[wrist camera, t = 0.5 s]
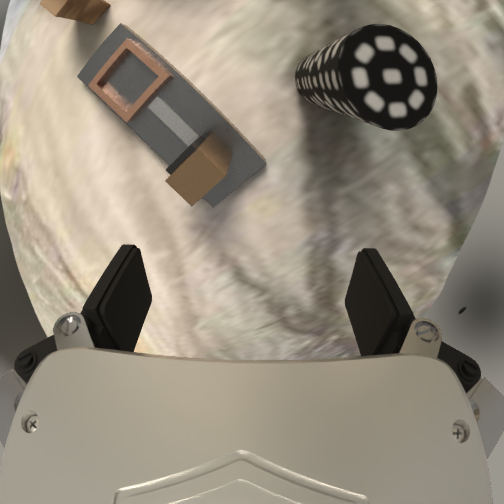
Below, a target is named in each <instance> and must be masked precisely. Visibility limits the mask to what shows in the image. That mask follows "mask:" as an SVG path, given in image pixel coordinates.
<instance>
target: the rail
mask: <svg viewBox="0 0 504 504" xmlns="http://www.w3.org/2000/svg"><path fill="white" fill-rule="evenodd" d="M77 77H78V78H79V79H80V80H81V81H82V82H83V83H84V84H86V85H87V86H88V87H89V88H90V89H91V90H92V91H93V92H94V93H95V94H96V95H97V96H98V97H99V98H100V99H101V100H102V101H103V102H104V103H105V104H106V105H108V106H109V107H110V108H111V109H112V110H113V111H114V112H115V113H116V114H117V115H118V116H119V117H120V118H121V119H122V120H123V121H124V122H125V123H126V124H127V125H128V126H129V127H130V128H132V129H133V130H134V131H135V132H136V133H137V134H138V135H139V136H140V137H141V138H142V139H143V140H144V141H145V142H146V143H147V144H148V145H149V146H150V147H151V148H152V149H153V150H154V151H155V152H156V153H157V154H159V155H160V156H161V157H162V158H163V159H164V160H165V161H166V162H167V163H168V164H169V165H170V166H169V167H168V168H167V169H166V171H167V172H168V173H169V174H170V176H169V177H168V178H167V179H166V182H167V183H168V184H169V185H170V186H171V187H172V188H173V189H174V190H175V191H176V192H177V193H178V194H179V195H180V196H181V197H182V198H183V199H185V200H186V201H187V202H188V203H189V204H190V205H191V206H193V205H194V204H195V203H196V202H197V201H198V200H200V199H201V198H202V197H203V198H204V199H205V200H206V201H207V202H208V203H209V204H210V205H211V206H212V207H215V206H216V205H217V204H218V203H219V202H220V201H222V200H223V199H224V198H225V197H226V196H228V195H229V194H230V193H231V192H232V191H234V190H235V189H236V188H237V187H238V186H240V185H241V184H242V183H243V182H244V181H246V180H247V179H248V178H249V177H250V176H252V175H253V174H254V173H255V172H257V171H258V170H259V169H260V168H262V167H263V166H264V165H265V164H267V163H266V159H265V158H264V157H263V156H262V155H261V154H260V153H259V152H258V151H257V150H256V148H255V147H254V146H253V145H252V144H251V143H250V142H249V141H248V140H247V139H246V138H245V137H244V135H243V134H242V133H241V132H240V131H239V130H238V129H237V128H236V127H235V126H234V125H233V124H232V123H231V122H230V121H229V120H228V119H227V118H226V117H225V116H224V115H223V114H222V113H221V112H220V111H219V110H218V109H217V107H216V106H215V105H214V104H213V103H212V102H211V101H209V100H208V99H207V98H206V97H205V96H204V95H203V94H202V93H201V92H200V91H199V90H198V89H197V88H196V87H195V86H194V85H193V84H192V83H191V82H190V81H189V80H188V79H187V78H186V77H185V76H184V75H182V74H181V73H180V72H179V71H178V70H177V69H176V68H175V67H174V66H173V65H172V64H170V63H169V62H168V61H167V60H166V59H165V58H164V57H163V56H162V55H160V54H159V53H158V52H157V51H156V50H155V49H154V48H152V47H151V46H150V45H149V44H148V43H147V42H145V41H144V40H143V39H142V38H141V37H140V36H138V35H137V34H136V33H135V32H133V31H132V30H131V29H130V28H129V27H127V26H126V25H123V24H121V23H120V24H119V26H118V27H117V28H116V29H115V30H114V31H113V32H112V33H111V34H110V35H109V37H108V38H107V39H106V40H105V41H104V42H103V44H102V45H101V46H100V47H99V48H98V50H97V51H96V52H95V53H94V55H93V56H92V57H91V58H90V60H89V61H88V62H87V64H86V65H85V66H84V68H83V69H82V70H81V72H80V73H79V75H78V76H77Z"/></svg>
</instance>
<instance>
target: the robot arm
mask: <svg viewBox="0 0 504 504" xmlns="http://www.w3.org/2000/svg"><path fill="white" fill-rule="evenodd" d="M151 302H152V294H151V291H150V287H149V283H148V279H147V276H146V272H145V268H144V264H143V259H142V255H141V251H140V249H139V248H137V247H136V245H122V246H121V247H120V249H119V250H118V252H117V253H116V255H115V256H114V258H113V259H112V261H111V262H110V264H109V265H108V267H107V268H106V270H105V271H104V273H103V275H102V276H101V278H100V279H99V281H98V282H97V284H96V286H95V287H94V289H93V291H92V292H91V294H90V296H89V297H88V299H87V301H86V302H85V304H84V306H83V310H82V311H81V313H77V312H70V313H66V314H64V315H63V316H61V317H60V318H59V319H58V320H57V321H56V323H55V325H54V328H53V332H54V335H52V336H50V337H48V338H47V339H44V340H43V341H41V342H39V343H37V344H35V345H33V346H31V347H29V348H28V349H26V350H24V351H23V352H21V353H20V354H19V356H18V357H17V359H16V361H15V369H14V370H13V371H12V369H10V370H9V371H8V372H7V373H6V374H4V375H3V376H2V377H1V378H0V441H1V443H2V444H3V446H4V448H5V449H4V453H3V457H2V462H1V468H0V504H493V498H492V490H491V482H490V476H489V469H488V464H487V458H488V457H489V455H490V454H491V452H492V450H493V449H494V447H495V445H496V444H497V442H498V440H499V438H500V437H501V435H502V433H503V431H504V396H503V395H502V394H501V393H500V392H499V391H498V390H497V389H496V388H495V387H494V386H493V385H492V384H491V383H490V382H489V381H488V380H487V379H486V378H485V377H484V378H483V379H482V378H481V371H480V368H479V366H478V364H477V363H476V361H475V360H473V359H472V358H470V357H469V356H466V355H465V354H463V353H461V352H460V351H458V350H456V349H454V348H453V347H451V346H449V345H447V344H446V343H444V342H442V332H441V330H440V328H439V326H438V325H437V324H435V323H434V322H433V321H431V320H429V319H426V318H418V319H415V317H414V315H413V312H412V310H411V308H410V306H409V304H408V302H407V301H406V299H405V297H404V295H403V293H402V292H401V290H400V288H399V286H398V284H397V283H396V281H395V279H394V278H393V276H392V274H391V272H390V271H389V269H388V267H387V266H386V264H385V262H384V261H383V259H382V257H381V256H380V254H379V253H378V251H377V250H376V249H373V248H363V249H362V251H361V252H358V254H357V258H356V262H355V266H354V269H353V273H352V277H351V280H350V284H349V287H348V291H347V294H346V297H345V306H346V309H347V312H348V315H349V319H350V322H351V325H352V328H353V331H354V334H355V337H356V341H357V344H358V347H359V350H360V354H361V356H358V357H344V358H330V359H310V360H222V359H202V358H187V357H175V356H164V355H154V354H145V353H136V352H134V349H135V346H136V343H137V340H138V338H139V335H140V332H141V329H142V326H143V324H144V321H145V318H146V316H147V313H148V310H149V308H150V305H151Z"/></svg>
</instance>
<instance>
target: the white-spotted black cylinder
mask: <svg viewBox="0 0 504 504" xmlns="http://www.w3.org/2000/svg"><path fill="white" fill-rule="evenodd" d="M295 81H296V86H297V88H298V91H299V92H300V94H301V95H302V96H303V98H304V99H305V100H307V101H308V102H309V103H311V104H313V105H315V106H318V107H321V108H324V109H327V110H331V111H334V112H337V113H340V114H343V115H346V116H349V117H352V118H355V119H358V120H361V121H364V122H366V123H369V124H372V125H374V126H377V127H379V128H382V129H387V130H394V131H401V130H406V129H410V128H412V127H414V126H416V125H418V124H419V123H421V122H422V121H423V120H424V119H425V118H426V117H427V116H428V115H429V113H430V112H431V110H432V108H433V106H434V103H435V100H436V95H437V77H436V73H435V69H434V66H433V64H432V61H431V59H430V57H429V56H428V54H427V52H426V51H425V49H424V48H423V47H422V46H421V45H420V43H419V42H418V41H417V40H416V39H414V38H413V37H412V36H411V35H409V34H408V33H406V32H404V31H403V30H401V29H399V28H396V27H393V26H390V25H383V24H373V25H368V26H364V27H361V28H359V29H357V30H355V31H353V32H351V33H349V34H347V35H345V36H343V37H341V38H339V39H337V40H335V41H334V42H332V43H330V44H328V45H326V46H324V47H323V48H321V49H319V50H317V51H316V52H314V53H312V54H310V55H309V56H307V57H306V58H304V59H303V60H302V61H301V62H300V64H299V66H298V67H297V70H296V75H295Z"/></svg>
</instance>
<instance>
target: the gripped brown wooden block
mask: <svg viewBox="0 0 504 504" xmlns="http://www.w3.org/2000/svg"><path fill="white" fill-rule="evenodd" d="M40 5H42V6H43V7H44V8H45V9H47V10H48V11H49V12H50V13H52V14H53V15H54V16H56V17H62V18H67V19H72V20H76V21H81V22H85V23H89V24H94V23H95V22H96V20H97V19H98V18H99V17H100V16H101V15H102V14H103V13H104V12H105V10H106V9H107V8H108V7H109V6H110V4H109V3H107V2H106V1H104V0H42V1H41V2H40Z"/></svg>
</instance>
